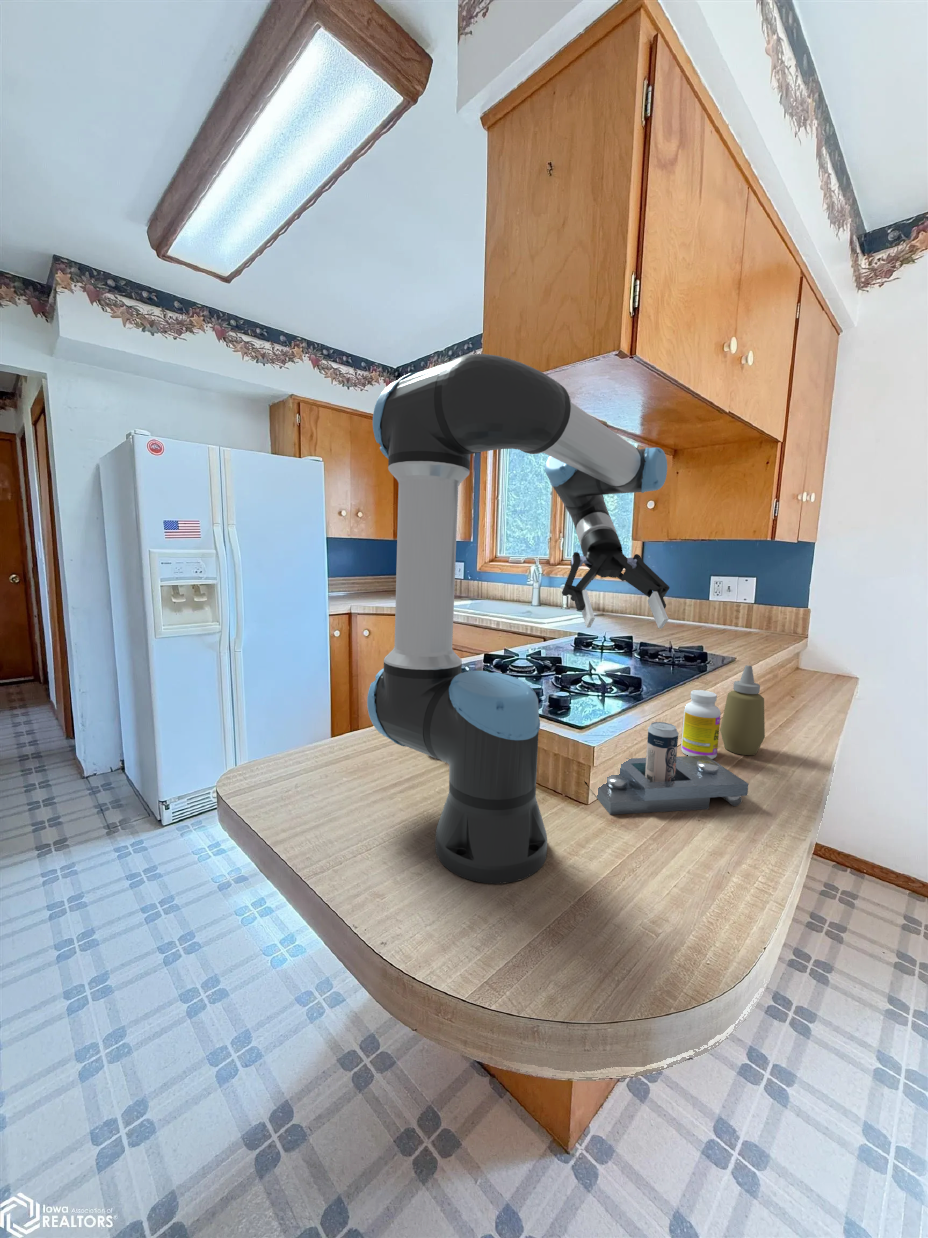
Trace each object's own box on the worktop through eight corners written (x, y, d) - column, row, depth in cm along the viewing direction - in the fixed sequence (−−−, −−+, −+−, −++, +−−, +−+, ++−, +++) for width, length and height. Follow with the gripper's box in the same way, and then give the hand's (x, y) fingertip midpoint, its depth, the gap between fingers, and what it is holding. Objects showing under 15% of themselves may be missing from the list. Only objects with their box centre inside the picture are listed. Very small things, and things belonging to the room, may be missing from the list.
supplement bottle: (717, 763, 94) (723, 699, 93) (680, 757, 97) (685, 695, 96) (716, 751, 100) (721, 691, 99) (681, 745, 103) (685, 686, 102)
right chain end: (643, 812, 76) (645, 782, 75) (613, 780, 87) (615, 753, 86) (746, 807, 78) (749, 777, 77) (704, 776, 89) (706, 750, 88)
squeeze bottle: (751, 744, 105) (759, 662, 102) (770, 759, 97) (780, 671, 94) (712, 741, 106) (719, 660, 103) (728, 757, 98) (736, 670, 95)
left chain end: (610, 814, 75) (611, 796, 75) (583, 781, 86) (584, 765, 86) (708, 809, 77) (710, 791, 77) (671, 777, 88) (672, 762, 88)
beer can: (674, 803, 79) (680, 732, 77) (643, 798, 81) (648, 728, 79) (672, 790, 83) (678, 723, 82) (643, 785, 85) (647, 719, 83)
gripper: (648, 555, 103) (683, 636, 90) (535, 552, 100) (553, 635, 87) (664, 528, 97) (703, 611, 84) (543, 524, 94) (565, 609, 81)
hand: (627, 623), depth 86 cm, fingers open, 13 cm apart
